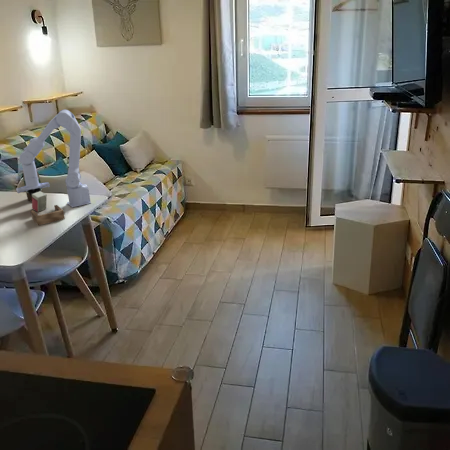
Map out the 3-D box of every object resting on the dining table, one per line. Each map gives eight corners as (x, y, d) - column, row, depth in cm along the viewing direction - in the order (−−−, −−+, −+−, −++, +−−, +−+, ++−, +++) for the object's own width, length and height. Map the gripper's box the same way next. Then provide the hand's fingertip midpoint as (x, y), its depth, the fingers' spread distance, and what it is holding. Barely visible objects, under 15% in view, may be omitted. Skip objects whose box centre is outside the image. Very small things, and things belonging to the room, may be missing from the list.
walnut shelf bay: (58, 213, 220) (56, 204, 219) (64, 218, 213) (63, 210, 211) (32, 219, 214) (30, 210, 213) (38, 225, 207) (36, 216, 205)
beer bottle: (24, 200, 240) (14, 153, 231) (37, 195, 246) (28, 149, 237) (33, 202, 236) (23, 154, 227) (47, 197, 242) (38, 151, 233)
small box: (40, 205, 228) (40, 190, 224) (46, 208, 226) (46, 194, 222) (31, 208, 224) (31, 193, 220) (37, 212, 222) (37, 197, 218)
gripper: (44, 171, 229) (49, 198, 234) (12, 177, 222) (18, 205, 227) (48, 174, 223) (53, 202, 229) (16, 181, 216) (22, 209, 221)
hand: (36, 204), depth 227 cm, fingers closed
